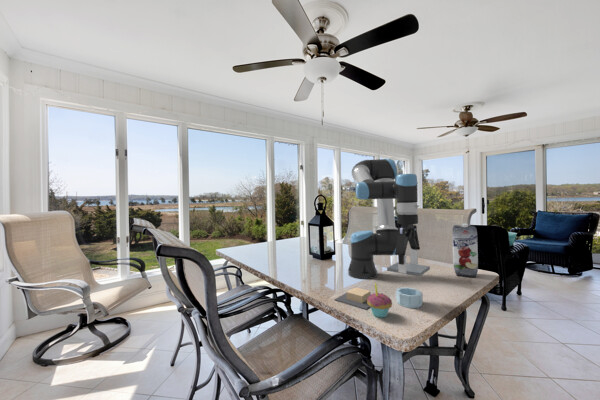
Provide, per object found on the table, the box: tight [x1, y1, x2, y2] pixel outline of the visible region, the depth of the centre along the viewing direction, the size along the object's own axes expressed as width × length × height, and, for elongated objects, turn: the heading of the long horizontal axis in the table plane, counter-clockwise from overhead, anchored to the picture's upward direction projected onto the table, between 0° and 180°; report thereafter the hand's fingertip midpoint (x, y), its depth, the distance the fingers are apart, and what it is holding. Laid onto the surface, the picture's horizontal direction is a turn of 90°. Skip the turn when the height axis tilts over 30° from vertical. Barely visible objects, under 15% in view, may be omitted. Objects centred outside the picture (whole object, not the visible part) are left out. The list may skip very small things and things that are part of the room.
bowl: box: [395, 286, 424, 309], centre depth 98 cm, size 9×9×4 cm
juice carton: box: [452, 223, 479, 278], centre depth 131 cm, size 9×10×27 cm
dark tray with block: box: [334, 287, 372, 311], centre depth 103 cm, size 14×14×3 cm
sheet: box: [386, 261, 431, 277], centre depth 98 cm, size 12×12×1 cm
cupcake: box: [367, 282, 393, 318], centre depth 89 cm, size 9×8×12 cm
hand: (408, 269), depth 98 cm, fingers closed on sheet, 12 cm apart
